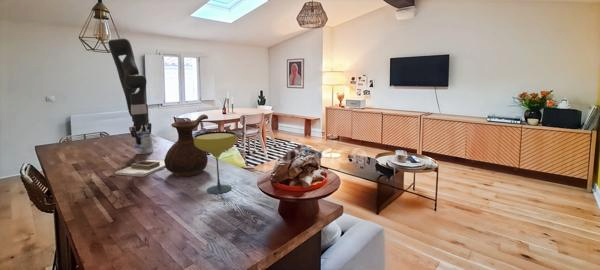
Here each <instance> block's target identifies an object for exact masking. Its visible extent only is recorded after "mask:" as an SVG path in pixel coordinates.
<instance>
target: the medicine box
mask: <svg viewBox="0 0 600 270" xmlns="http://www.w3.org/2000/svg"><path fill="white" fill-rule="evenodd" d="M137 136H138V134H137ZM150 137H151V134H150V133H149V132H141V134H140V139H141V145H137V144H136V138H134V137H133V139H134V141H133V142H134V148H135V149H136V148H140V149H148V148H151V139H150Z"/></svg>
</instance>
